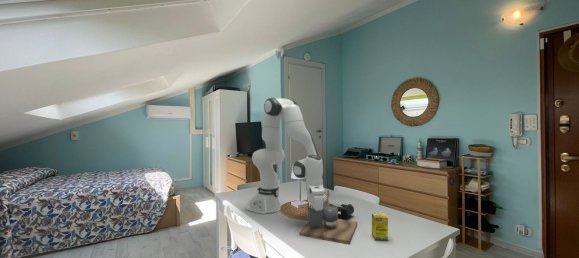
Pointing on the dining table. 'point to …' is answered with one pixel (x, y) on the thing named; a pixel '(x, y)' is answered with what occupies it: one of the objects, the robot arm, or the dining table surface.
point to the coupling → (322, 216)
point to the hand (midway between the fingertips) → (314, 213)
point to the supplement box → (380, 226)
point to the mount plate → (331, 231)
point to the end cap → (345, 211)
